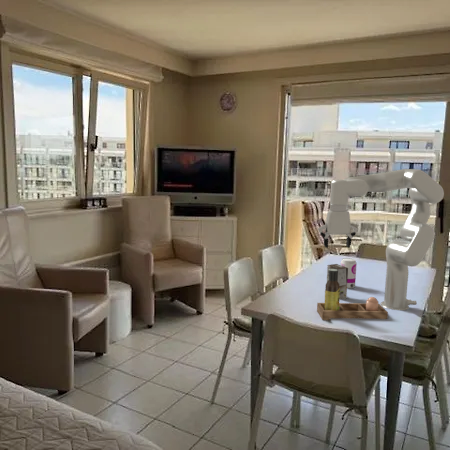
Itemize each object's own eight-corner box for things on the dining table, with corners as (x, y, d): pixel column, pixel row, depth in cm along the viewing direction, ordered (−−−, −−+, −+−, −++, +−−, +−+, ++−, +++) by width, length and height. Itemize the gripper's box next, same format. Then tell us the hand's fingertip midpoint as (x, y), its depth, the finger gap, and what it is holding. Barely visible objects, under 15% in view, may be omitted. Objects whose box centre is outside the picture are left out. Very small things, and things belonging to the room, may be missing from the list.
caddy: (378, 312, 197) (378, 303, 196) (387, 321, 186) (387, 312, 186) (316, 311, 197) (317, 302, 196) (322, 320, 186) (322, 311, 185)
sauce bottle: (340, 316, 188) (342, 271, 185) (326, 316, 188) (328, 271, 185) (336, 310, 195) (338, 267, 191) (322, 310, 194) (324, 267, 191)
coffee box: (347, 299, 214) (349, 267, 212) (336, 300, 212) (338, 269, 209) (335, 293, 223) (337, 263, 220) (325, 295, 220) (326, 264, 218)
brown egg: (375, 312, 194) (376, 295, 193) (379, 316, 189) (380, 299, 188) (364, 312, 194) (365, 295, 193) (367, 316, 189) (368, 298, 188)
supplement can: (357, 286, 236) (359, 259, 234) (350, 289, 230) (352, 262, 228) (344, 283, 242) (345, 257, 240) (336, 286, 236) (338, 259, 234)
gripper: (355, 207, 191) (354, 245, 194) (316, 207, 190) (315, 245, 193) (361, 209, 183) (359, 248, 186) (321, 209, 183) (319, 249, 186)
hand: (337, 247), depth 190 cm, fingers open, 9 cm apart
